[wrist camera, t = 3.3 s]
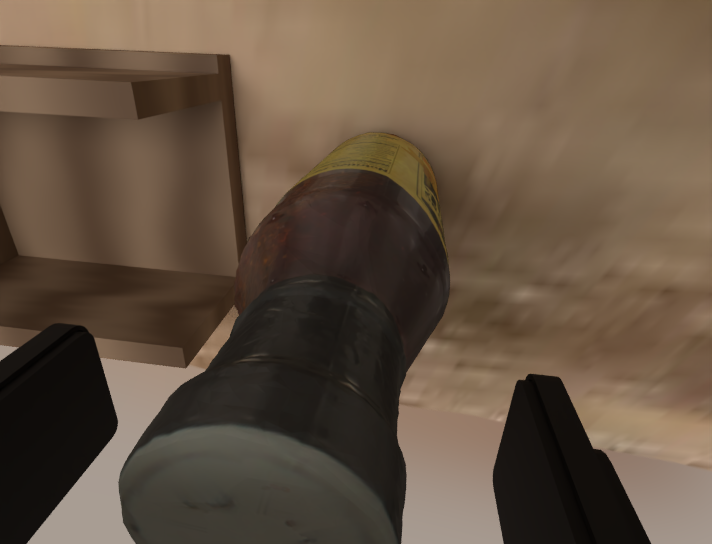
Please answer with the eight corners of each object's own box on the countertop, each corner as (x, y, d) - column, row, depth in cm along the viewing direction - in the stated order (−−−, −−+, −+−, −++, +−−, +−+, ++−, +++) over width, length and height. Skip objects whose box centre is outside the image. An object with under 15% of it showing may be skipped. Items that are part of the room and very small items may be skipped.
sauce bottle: (415, 250, 25) (398, 713, 7) (313, 220, 25) (59, 611, 8) (454, 139, 22) (584, 487, 4) (338, 105, 22) (0, 317, 4)
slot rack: (229, 54, 21) (125, 55, 14) (251, 293, 28) (188, 381, 20) (-52, 43, 23) (-277, 38, 16) (30, 270, 30) (-102, 343, 22)
